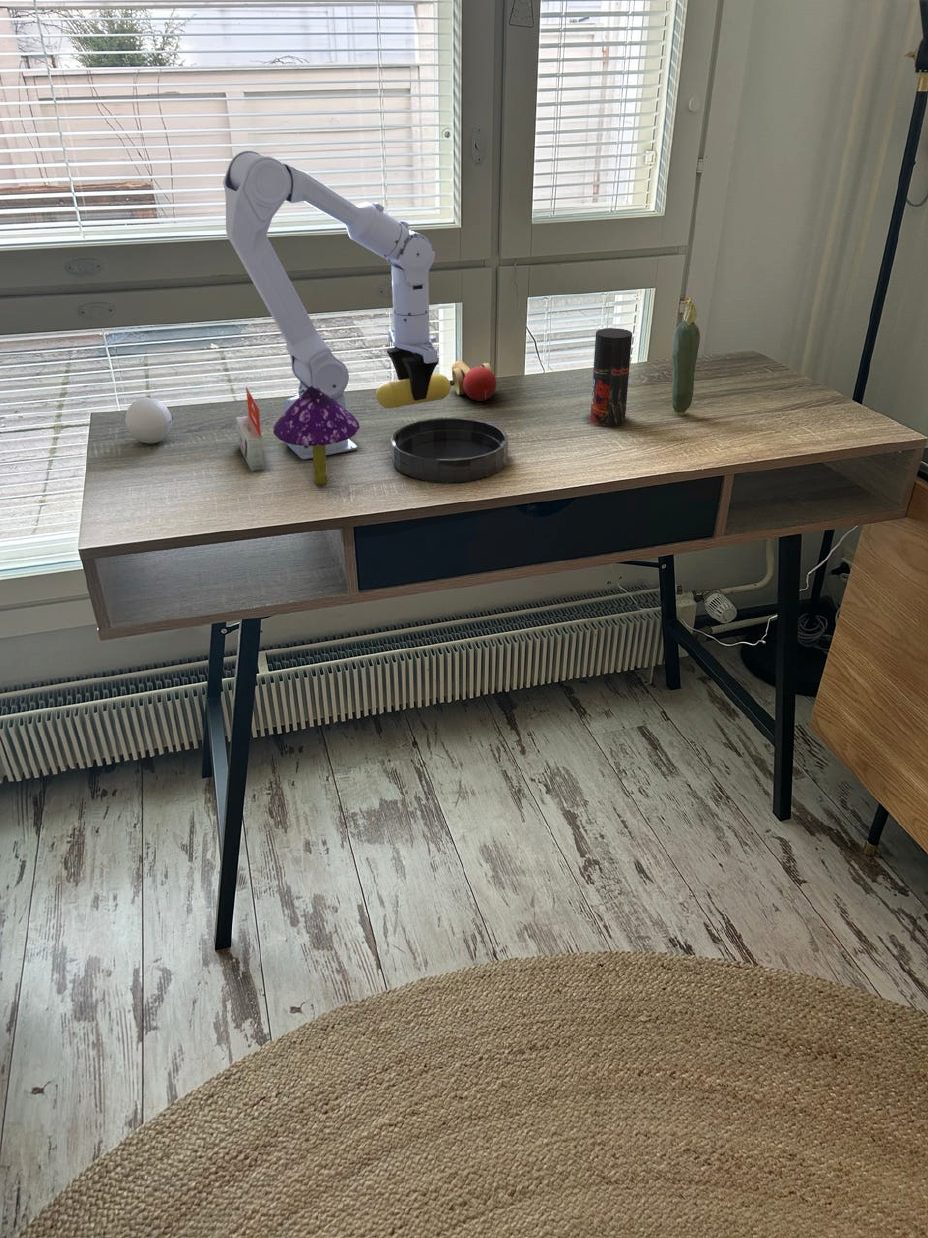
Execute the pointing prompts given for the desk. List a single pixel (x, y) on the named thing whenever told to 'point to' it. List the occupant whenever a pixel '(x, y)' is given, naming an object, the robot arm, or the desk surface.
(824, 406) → the desk surface
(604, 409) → the deodorant
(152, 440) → the white egg
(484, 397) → the kendama
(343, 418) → the decorative mushroom
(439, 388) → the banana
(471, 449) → the pan
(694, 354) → the vegetable
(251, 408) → the ink box
